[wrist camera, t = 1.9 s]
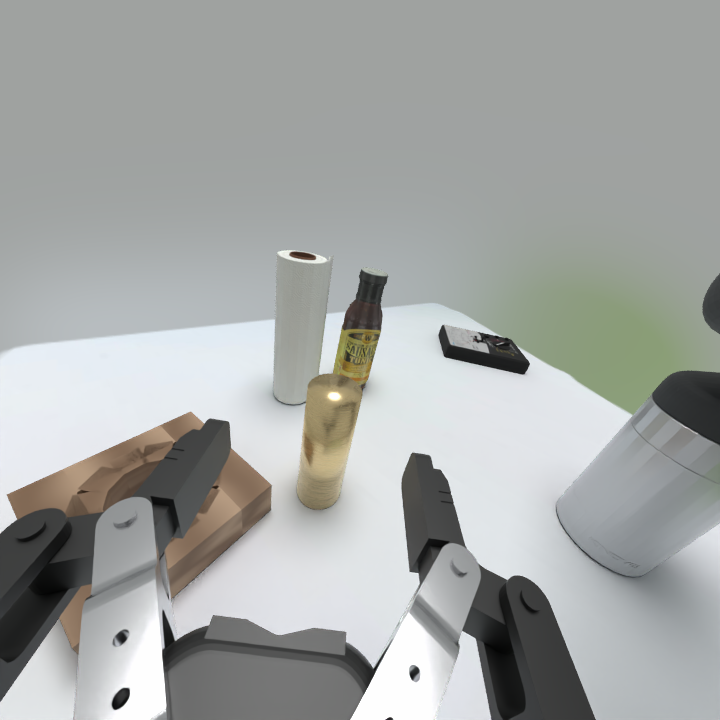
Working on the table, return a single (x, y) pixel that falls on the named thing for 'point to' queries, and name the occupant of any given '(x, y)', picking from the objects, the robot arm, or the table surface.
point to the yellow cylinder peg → (327, 438)
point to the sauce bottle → (361, 328)
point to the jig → (124, 477)
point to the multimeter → (482, 349)
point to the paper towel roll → (299, 322)
